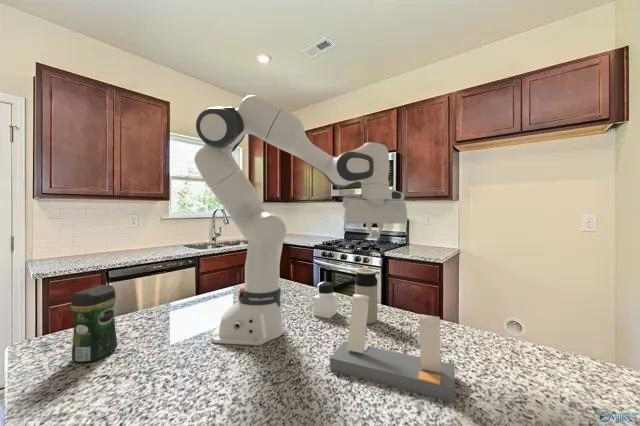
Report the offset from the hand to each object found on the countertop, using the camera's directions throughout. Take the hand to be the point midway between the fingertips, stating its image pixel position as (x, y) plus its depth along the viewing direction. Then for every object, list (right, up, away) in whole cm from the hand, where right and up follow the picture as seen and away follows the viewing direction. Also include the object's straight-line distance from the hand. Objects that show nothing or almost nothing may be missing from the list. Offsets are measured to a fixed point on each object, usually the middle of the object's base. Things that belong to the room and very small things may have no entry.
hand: (374, 237), depth 90 cm
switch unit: (0, -31, -22) cm, 38 cm away
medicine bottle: (-15, -31, +17) cm, 39 cm away
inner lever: (-8, -28, -18) cm, 34 cm away
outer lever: (+8, -28, -26) cm, 39 cm away
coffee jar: (-79, -31, -13) cm, 86 cm away
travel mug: (-1, -31, +11) cm, 33 cm away
